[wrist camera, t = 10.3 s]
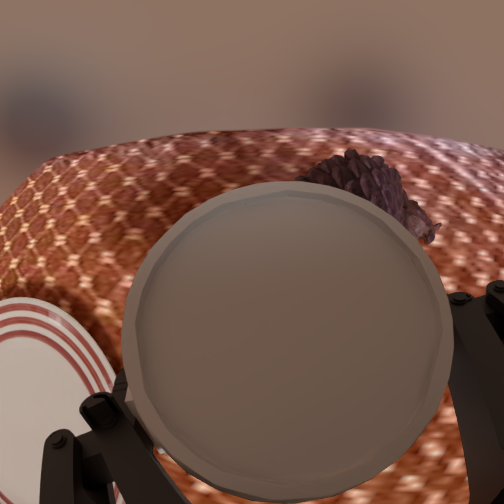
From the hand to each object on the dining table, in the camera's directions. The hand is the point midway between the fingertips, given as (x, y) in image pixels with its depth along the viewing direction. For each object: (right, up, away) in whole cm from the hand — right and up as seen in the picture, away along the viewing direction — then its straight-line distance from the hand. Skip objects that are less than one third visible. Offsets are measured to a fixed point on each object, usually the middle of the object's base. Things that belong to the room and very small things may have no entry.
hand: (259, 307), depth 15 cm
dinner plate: (-23, -15, +6) cm, 28 cm away
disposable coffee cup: (+1, -5, +2) cm, 6 cm away
